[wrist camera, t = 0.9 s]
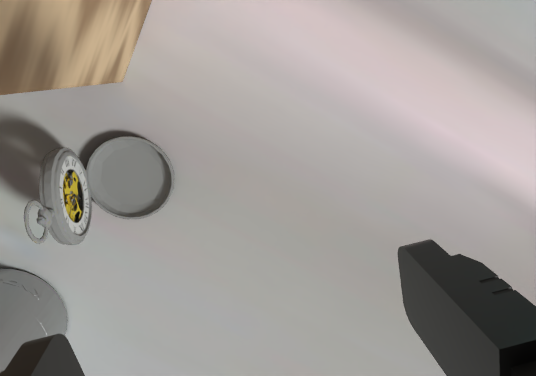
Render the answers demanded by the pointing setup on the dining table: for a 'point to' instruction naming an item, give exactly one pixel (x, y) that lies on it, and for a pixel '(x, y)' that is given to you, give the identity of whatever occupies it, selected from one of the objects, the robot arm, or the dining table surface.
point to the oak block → (66, 42)
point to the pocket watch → (100, 187)
